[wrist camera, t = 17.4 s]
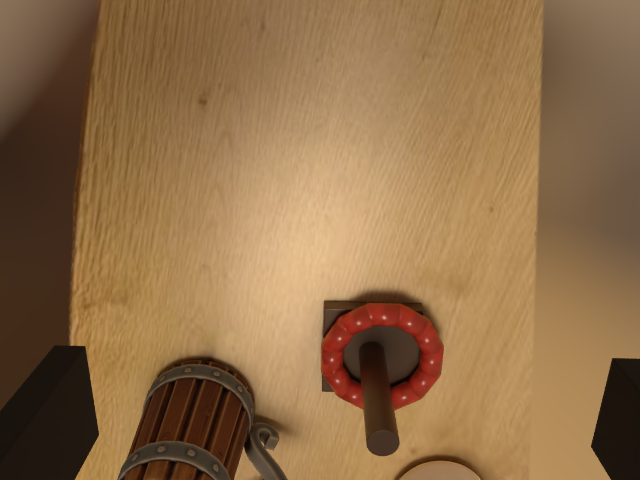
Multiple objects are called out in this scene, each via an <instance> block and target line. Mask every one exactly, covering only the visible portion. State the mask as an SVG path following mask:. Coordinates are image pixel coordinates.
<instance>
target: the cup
mask: <svg viewBox="0 0 640 480" xmlns="http://www.w3.org/2000/svg"><path fill="white" fill-rule="evenodd" d="M400 480H481V479H480V478H479V477H478V476H477V475H476V474H475V473H474V472H473V471H472V470H470V469H469V468H467V467H465V466H463V465H461V464H458V463H454V462H450V461H431V462H426V463H423V464H420V465H418V466H416V467H414V468H412V469H411V470H409V471H408V472H406V473H405V474H404V475H403V476H402V477H401V478H400Z"/></svg>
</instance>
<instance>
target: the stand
mask: <svg viewBox="0 0 640 480" xmlns="http://www.w3.org/2000/svg"><path fill="white" fill-rule="evenodd" d="M367 303H383V302H338V301H324V324H323V339H324V338H325V336H326V335H327V334H328V332H329V331H330V329H331V328H332V326H333V325H334V324H335V322H336V321H337V319H338V318H339V317H340V316H342V315H344V314H346V313H348V312H350V311H352V310H355V309H357V308H359V307H361V306H363V305H365V304H367ZM398 304H403V305H405V306H407V307H408V308H410V309H412V310H414V311H416V312H417V313H419V314H421V315H423V316H424V310H423V306H422V304H421V303H398ZM419 359H420V348H419V346H418V344H417V342H416V341H415V339H414V337H413V336H412V335H410V334H409V333H407V332H405V331H403V330H401V329H399V328H398V327H396V326H372V327H370V328H368V329H366V330H364V331H362V332H359V333H357V334H355V335H354V336H353V337H352V339H351V340H350V341H349V343H348V344H347V346H346V347H345V348H344V350H343V366H344V368H345V369H346V371H347V373H348V374H349V376H350V377H351V379H352V380H354V381H356V382H358V383H360V384H361V387H362V398H363V409H364V420H365V432H366V443H367V448H368V449H369V451H370V452H371V453H373V454H375V455H378V456H388V455H391V454H393V453H394V452H395V451H396V450H397V449H398V447H399V436H398V430H397V424H396V418H395V412H394V406H393V400H392V394H391V388H392V387H394V386H396V385H398V384H401V383H403V382H405V381H407V380H409V379H410V377H411V376H412V375H413V373H414V372H415V371H416V370H417V368H418V367H419ZM322 391H323V392H334V391H333V389H332V388H331V386H330V385H329V383H328V382H327V380H326V379H325V377H324V376H323V374H322Z"/></svg>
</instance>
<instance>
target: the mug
mask: <svg viewBox="0 0 640 480" xmlns="http://www.w3.org/2000/svg"><path fill="white" fill-rule="evenodd" d="M247 386H248V385H247V384H246V383H245V382H244V380H243V379H242V378H241V377H240V376H239V375H238V374H236V373H235V372H233V371H231V370H230V369H229V368H227V367H225V366H223V365H221V364H218V363H214V362H211V361H209V362H206V361H203V360H191V361H185V362H182V364H176V365H173V366H171V367H169V368H168V369H166V370H165V371H164V372H162V373H161V374H160V377H159V378H158V379H156V380H155V381H154V383H153V385H152V386H151V388H150V390H149V391H148V394H147V397H146V400H145V403H144V407H143V411H142V417H141V420H140V423H139V426H138V429H137V432H136V434H135V437H134V440H133V443H132V446H131V449H130V452H129V454H128V457H127V460H126V461H125V463H124V464H123V466H122V468H121V471H120V474H119V476H118V479H117V480H234V477H235V473H236V470H237V467H238V464H239V460H240V457H241V454H242V450H243V447H244V448H245V452H246V454H247V456H248V458H249V460H250V461H251V463H252V464H253V465H254V467H255V468H256V469H257V470H258V472H259V473H260V474H261V475H262V477H263V478H264V479H265V480H287V478H286V476H285V474H284V473H283V471H282V470H281V468H280V467H279V465H278V464H277V463H276V462H275V460H274V459H273V458H272V457H271V455H270V454H269V453H268V452H267V450H266V449H269V450H273V451H274V449H275V447H276V445H277V443H278V441H279V434H278V432H277V430H276V429H275V428H274V427H272V426H271V425H270V424H266V423H260V422H258V423H255V424H253V425H252V422H253V419H254V400H253V397H252V393H251V392H250V391H249V390H248V389H247ZM261 441H262V442H263V443H264V445H265V446H263V445H262V443H261ZM265 448H266V449H265Z"/></svg>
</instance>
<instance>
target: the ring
mask: <svg viewBox="0 0 640 480" xmlns="http://www.w3.org/2000/svg"><path fill="white" fill-rule="evenodd" d="M372 326H396V327H398V328H399V329H401V330H403V331H405V332H407V333H409V334H410V335H412V336H413V337H414V339H415V341H416V342H417V344H418V346H419V348H420V349H421V355H420V365H419V367H418V368H417V370H416V371H415V372H414V373H413V375H412V376H411V377H410V379H409V380H407V381H405V382H403V383H401V384H398V385H396V386H394V387H392V388H391V394H392V400H393V406H394V410H397V409H399V408H402V407H404V406H406V405H409V404H411V403H413V402H416V401H418V400H420V399H422V398H423V397H424V396H425V394H426V393H427V392H428V391H429V390H430V388H431V387H432V386H433V385H434V383H435V382H436V381H437V380H438V378H439V377H440V375H441V370H442V361H443V352H444V346H443V343H442V341H441V339H440V338H439V336H438V334H437V332H436V330H435V328H434V327H433V325H432V323H431V321H430V320H429V319H428V318H426V317H425V316H423V315H421V314H419V313H417V312H416V311H414V310H412V309H410V308H408V307H407V306H405V305H403V304H398V303H367V304H365V305H363V306H361V307H359V308H357V309H355V310H352V311H350V312H348V313H346V314H344V315H342V316H340V317H339V318H338V319H337V321H336V322H335V324H334V325H333V326H332V328H331V329H330V331H329V332H328V334H327V335H326V336H325V338H324V339H323V341H322V345H321V372H322V374H323V376H324V377H325V379H326V380H327V382H328V383H329V385H330V386H331V388H332V389H333V391H334V392H335V394H336V395H337V396H338V397H339V398H341V399H343V400H345V401H347V402H349V403H351V404H353V405H355V406H357V407H359V408H361V409H363V398H362V387H361V384H360V383H358V382H356V381H354V380H352V379H351V377H350V376H349V374H348V373H347V371H346V369H345V368H344V366H343V350H344V348H345V347H346V346H347V344H348V343H349V341H350V340H351V339H352V337H353V336H354V335H355V334H357V333H359V332H362V331H364V330H366V329H368V328H370V327H372ZM363 410H364V409H363Z"/></svg>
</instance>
